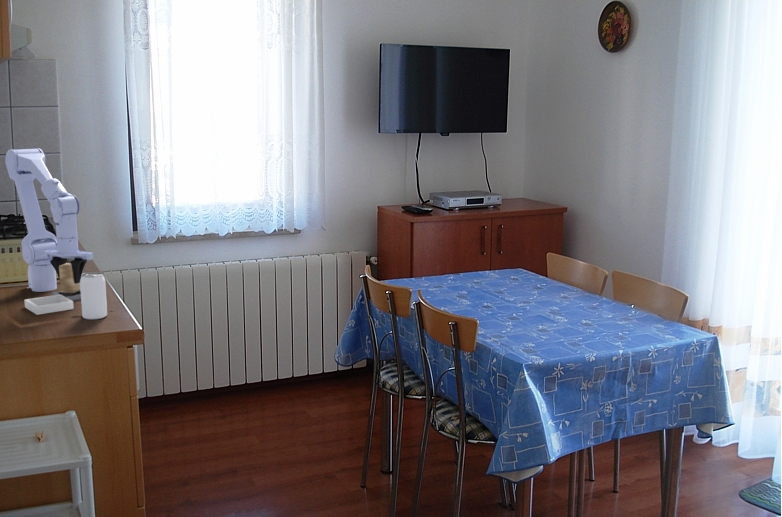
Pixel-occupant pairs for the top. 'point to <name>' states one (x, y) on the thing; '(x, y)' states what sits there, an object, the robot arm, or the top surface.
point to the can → (93, 296)
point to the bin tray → (48, 304)
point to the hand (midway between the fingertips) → (70, 282)
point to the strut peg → (67, 279)
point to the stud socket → (70, 295)
